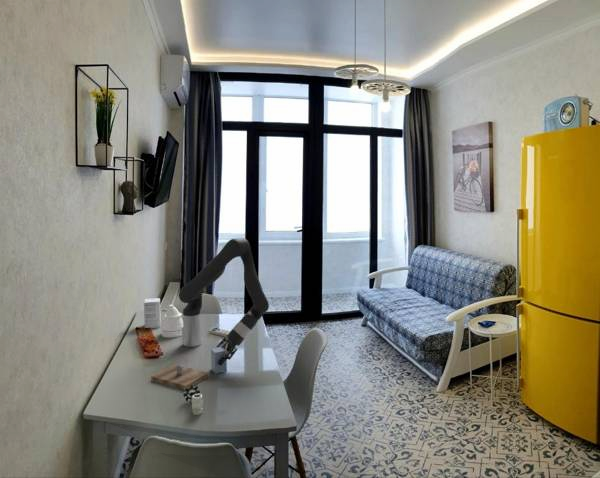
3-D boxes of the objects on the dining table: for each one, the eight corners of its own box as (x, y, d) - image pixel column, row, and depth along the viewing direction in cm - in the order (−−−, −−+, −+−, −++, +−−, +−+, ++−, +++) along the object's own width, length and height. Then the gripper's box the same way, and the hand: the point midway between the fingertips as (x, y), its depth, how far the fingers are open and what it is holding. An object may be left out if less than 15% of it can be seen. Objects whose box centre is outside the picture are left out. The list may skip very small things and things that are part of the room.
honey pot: (180, 337, 226) (179, 307, 225) (158, 337, 227) (157, 307, 225) (187, 330, 239) (186, 301, 237) (166, 330, 239) (165, 301, 238)
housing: (215, 373, 179) (214, 352, 178) (211, 369, 184) (211, 348, 183) (226, 371, 182) (226, 350, 181) (222, 366, 187) (222, 346, 186)
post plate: (151, 380, 172) (150, 367, 172) (174, 368, 185) (174, 356, 184) (185, 390, 163) (185, 376, 163) (207, 376, 176) (207, 364, 175)
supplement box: (145, 324, 250) (144, 298, 249) (160, 323, 253) (160, 297, 251) (144, 329, 241) (143, 302, 240) (160, 327, 244) (159, 301, 242)
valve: (207, 413, 146) (199, 398, 157) (207, 396, 146) (199, 383, 156) (190, 417, 143) (183, 402, 154) (189, 400, 142) (182, 386, 153)
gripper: (228, 324, 191) (205, 351, 186) (239, 333, 179) (215, 362, 174) (239, 333, 194) (217, 360, 190) (250, 342, 182) (226, 371, 177)
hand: (216, 361), depth 182 cm, fingers open, 8 cm apart
